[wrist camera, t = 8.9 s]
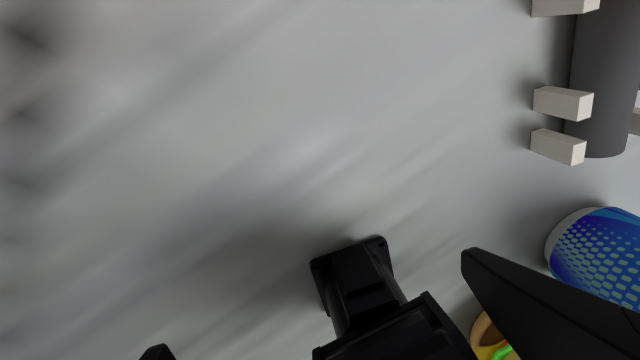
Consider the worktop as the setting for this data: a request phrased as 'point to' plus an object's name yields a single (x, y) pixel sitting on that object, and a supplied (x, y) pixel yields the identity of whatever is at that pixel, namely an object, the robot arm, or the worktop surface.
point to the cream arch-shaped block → (562, 7)
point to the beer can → (598, 254)
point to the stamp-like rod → (606, 75)
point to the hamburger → (490, 341)
